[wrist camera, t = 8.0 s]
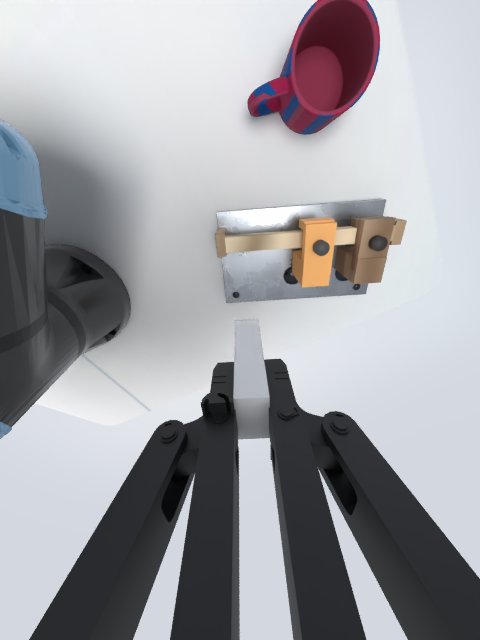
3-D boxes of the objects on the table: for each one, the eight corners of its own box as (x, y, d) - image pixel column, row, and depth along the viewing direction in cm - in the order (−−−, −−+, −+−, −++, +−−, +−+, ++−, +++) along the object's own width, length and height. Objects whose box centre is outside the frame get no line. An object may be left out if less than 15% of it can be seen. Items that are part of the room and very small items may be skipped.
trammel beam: (224, 283, 32) (220, 304, 26) (217, 224, 28) (212, 233, 22) (370, 273, 31) (401, 293, 25) (383, 211, 27) (423, 217, 21)
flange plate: (226, 299, 34) (226, 303, 33) (217, 211, 29) (216, 212, 27) (361, 290, 34) (365, 294, 33) (380, 199, 28) (386, 199, 27)
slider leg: (291, 279, 31) (303, 300, 25) (294, 216, 27) (309, 224, 22) (313, 278, 31) (330, 298, 25) (319, 215, 27) (341, 221, 21)
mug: (343, 125, 24) (376, 105, 19) (251, 149, 25) (254, 136, 20) (344, 35, 21) (384, -26, 15) (239, 65, 22) (238, 20, 16)
